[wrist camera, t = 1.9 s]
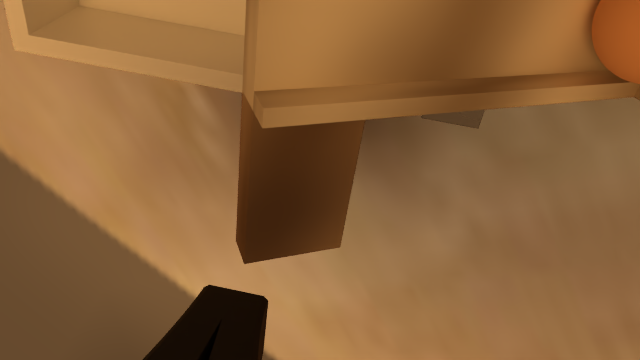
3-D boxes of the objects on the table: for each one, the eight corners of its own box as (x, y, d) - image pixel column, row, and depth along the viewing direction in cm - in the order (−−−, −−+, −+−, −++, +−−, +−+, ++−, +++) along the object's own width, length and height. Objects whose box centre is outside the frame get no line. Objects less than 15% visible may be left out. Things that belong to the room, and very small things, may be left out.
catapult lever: (683, -101, 15) (794, -75, 12) (547, 191, 20) (605, 244, 18) (252, -145, 10) (304, -115, 8) (236, 240, 16) (263, 318, 14)
